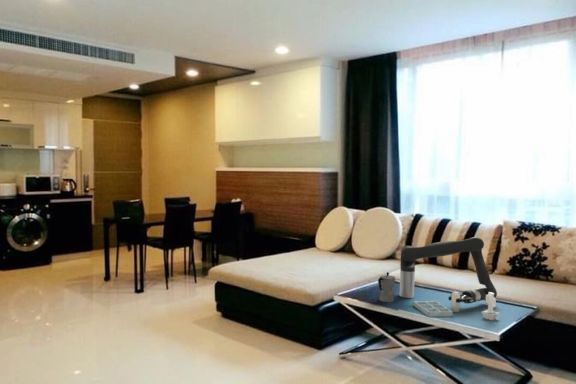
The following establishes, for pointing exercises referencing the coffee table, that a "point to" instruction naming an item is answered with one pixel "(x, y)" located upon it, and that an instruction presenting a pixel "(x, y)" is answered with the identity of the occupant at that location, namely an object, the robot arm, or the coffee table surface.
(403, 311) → the coffee table surface
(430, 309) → the muffin tray
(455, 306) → the white tall cylinder
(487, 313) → the figurine
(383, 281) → the coffeepot
